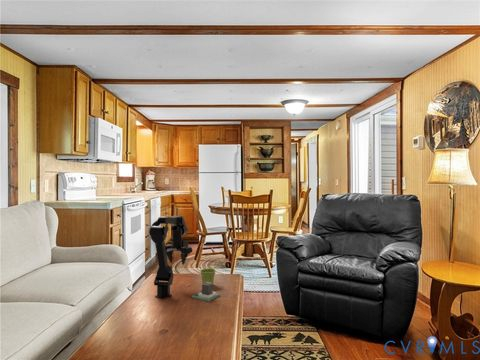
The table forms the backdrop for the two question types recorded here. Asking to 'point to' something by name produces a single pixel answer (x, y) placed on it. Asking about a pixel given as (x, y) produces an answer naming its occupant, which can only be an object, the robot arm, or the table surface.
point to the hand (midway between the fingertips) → (177, 263)
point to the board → (205, 296)
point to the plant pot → (207, 275)
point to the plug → (207, 288)
